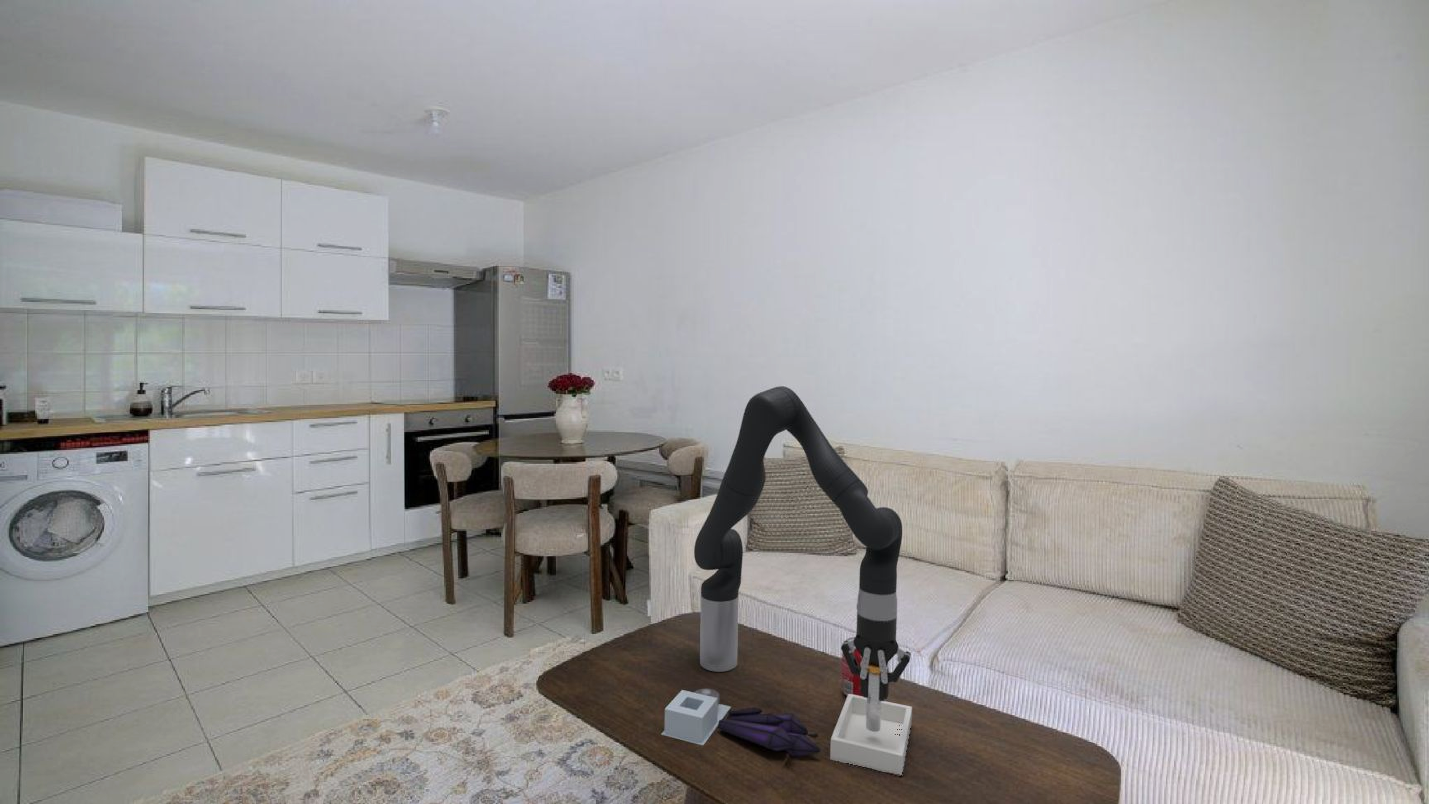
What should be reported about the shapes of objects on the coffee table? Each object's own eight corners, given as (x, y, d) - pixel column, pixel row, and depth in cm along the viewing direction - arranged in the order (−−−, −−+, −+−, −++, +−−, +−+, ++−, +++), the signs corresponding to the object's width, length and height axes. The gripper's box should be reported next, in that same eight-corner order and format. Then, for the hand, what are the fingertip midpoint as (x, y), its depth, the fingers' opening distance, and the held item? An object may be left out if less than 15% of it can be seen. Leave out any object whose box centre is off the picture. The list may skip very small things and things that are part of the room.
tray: (848, 711, 137) (848, 693, 137) (911, 725, 132) (912, 706, 132) (830, 759, 121) (830, 738, 120) (901, 777, 116) (902, 755, 116)
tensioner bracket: (692, 702, 140) (692, 675, 140) (730, 711, 137) (731, 683, 136) (661, 739, 126) (661, 709, 126) (703, 750, 123) (703, 719, 123)
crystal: (710, 713, 124) (808, 734, 115) (735, 693, 135) (828, 710, 125) (710, 751, 124) (809, 775, 115) (736, 728, 134) (829, 748, 125)
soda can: (875, 690, 146) (877, 639, 145) (869, 705, 140) (871, 652, 139) (845, 683, 149) (846, 633, 148) (837, 698, 143) (839, 645, 142)
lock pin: (864, 720, 129) (866, 657, 128) (884, 724, 127) (887, 660, 127) (861, 730, 125) (863, 665, 124) (882, 735, 124) (884, 669, 123)
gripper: (916, 610, 126) (912, 695, 127) (844, 599, 131) (842, 681, 132) (912, 624, 119) (909, 715, 120) (837, 612, 124) (834, 699, 125)
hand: (874, 697), depth 126 cm, fingers closed on lock pin, 2 cm apart
